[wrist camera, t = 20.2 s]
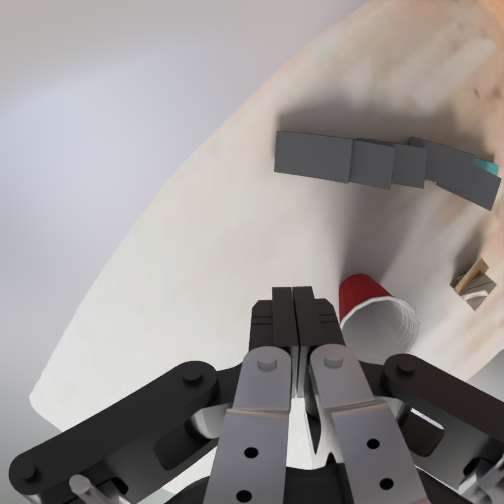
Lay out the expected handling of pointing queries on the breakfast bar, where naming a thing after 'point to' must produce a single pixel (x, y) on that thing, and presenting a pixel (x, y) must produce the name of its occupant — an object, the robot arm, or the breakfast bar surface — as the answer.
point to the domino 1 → (314, 156)
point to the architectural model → (475, 285)
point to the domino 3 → (406, 163)
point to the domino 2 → (373, 164)
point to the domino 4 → (446, 164)
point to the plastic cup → (375, 320)
